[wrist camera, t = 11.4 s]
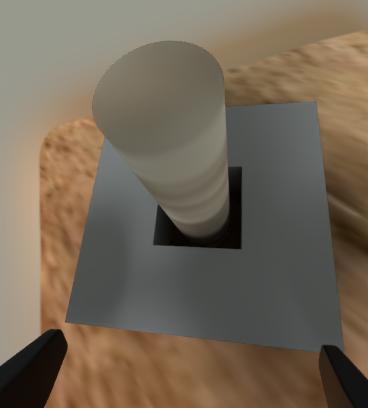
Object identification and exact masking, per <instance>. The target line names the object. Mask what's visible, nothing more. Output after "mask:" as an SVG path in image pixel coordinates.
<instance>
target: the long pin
mask: <svg viewBox="0 0 368 408" xmlns="http://www.w3.org/2000/svg"><path fill="white" fill-rule="evenodd" d="M92 110H93V117H94V120H95V123H96V124H97V126H98V128H99V130H100V131H101V132H102V133H103V135H104V136H105V137H106V138H107V140H108V141H109V142H110V144H111V145H112V146H113V147H114V149H115V150H116V151H117V152H118V154H119V155H120V156H121V157H122V159H123V160H124V161H125V162H126V164H127V165H128V166H129V167H130V169H131V170H132V171H133V172H134V174H135V175H136V176H137V177H138V179H139V180H140V181H141V183H142V184H143V185H144V186H145V188H146V189H147V190H148V191H149V193H150V194H151V195H152V196H153V198H154V199H155V200H156V201H157V203H158V204H159V205H160V206H161V208H162V209H163V210H164V211H165V213H166V214H167V215H168V216H169V218H170V219H171V220H172V222H173V223H174V224H175V225H176V227H177V228H178V229H179V230H180V232H181V233H182V234H183V235H184V237H185V238H186V239H187V240H188V241H189V242H190V243H191V244H193V245H195V246H197V247H201V248H210V247H214V246H216V245H218V244H220V243H221V242H222V241H223V240H224V239H225V238H226V236H227V235H228V233H229V230H230V205H229V182H228V159H227V136H226V113H225V90H224V77H223V72H222V70H221V67H220V65H219V63H218V62H217V60H216V59H215V58H214V57H213V56H212V55H211V54H210V53H209V52H207V51H206V50H205V49H203V48H201V47H199V46H197V45H194V44H191V43H187V42H182V41H161V42H155V43H151V44H147V45H145V46H142V47H139V48H137V49H135V50H133V51H131V52H129V53H128V54H126V55H124V56H123V57H121V58H120V59H119V60H117V61H116V62H115V63H114V64H113V65H112V66H111V67H110V68H109V69H108V70H107V71H106V72H105V74H104V75H103V76H102V78H101V80H100V81H99V83H98V85H97V87H96V90H95V93H94V96H93V102H92Z"/></svg>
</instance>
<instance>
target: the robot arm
mask: <svg viewBox="0 0 368 408" xmlns="http://www.w3.org/2000/svg"><path fill="white" fill-rule="evenodd" d="M67 348H68V344H67V341H66V339H65V337H64V334H63V332H62V330H60V329H50V330H48V331H46V332H45V333H44V334H42V335H41V336H40V337H38V338H37V339H36V340H34V341H33V342H32V343H30V344H29V345H28V346H26V347H25V348H24V349H22V350H21V351H20V352H18V353H17V354H16V355H14V356H13V357H12V358H10V359H9V360H8V361H6V362H5V363H4V364H3V365H1V366H0V408H44V407H45V405H46V402H47V400H48V398H49V396H50V393H51V391H52V389H53V386H54V383H55V381H56V378H57V375H58V373H59V370H60V368H61V365H62V362H63V360H64V357H65V355H66V352H67ZM319 370H320V374H321V378H322V383H323V387H324V391H325V395H326V400H327V404H328V408H368V379H367V378H366V377H365V376H364V375H363V374H362V373H361V372H360V370H359V369H358V368H357V367H356V366H355V365H354V364H353V363H352V362H351V361H350V360H349V358H348V357H347V356H346V355H345V354H344V353H343V352H342V351H341V350H340V349H339V348H338V347H337V346H335V345H322V346H321V350H320V357H319Z"/></svg>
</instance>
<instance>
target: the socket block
mask: <svg viewBox="0 0 368 408" xmlns="http://www.w3.org/2000/svg"><path fill="white" fill-rule="evenodd" d="M225 113H226V136H227V159H228V182H229V192H241V200H240V249H222V248H201V247H181V246H170V240H171V230H172V220H171V219H170V218H169V216H168V215H167V214H166V213H165V211H164V210H163V209H162V208H161V206H160V205H159V204H158V203H157V201H156V200H155V199H154V198H153V196H152V195H151V194H150V193H149V191H148V190H147V189H146V188H145V186H144V185H143V184H142V183H141V181H140V180H139V179H138V177H137V176H136V175H135V174H134V172H133V171H132V170H131V169H130V167H129V166H128V165H127V164H126V162H125V161H124V160H123V159H122V157H121V156H120V155H119V154H118V152H117V151H116V150H115V149H114V147H113V146H112V145H111V144H110V142H109V141H108V140H107V138H106V137H104V142H103V147H102V152H101V156H100V161H99V166H98V170H97V175H96V180H95V184H94V189H93V194H92V198H91V203H90V208H89V212H88V217H87V222H86V226H85V231H84V236H83V240H82V245H81V250H80V254H79V259H78V264H77V268H76V273H75V278H74V282H73V287H72V292H71V296H70V301H69V306H68V310H67V315H66V320H65V322H66V323H74V324H83V325H91V326H100V327H108V328H117V329H125V330H134V331H142V332H150V333H159V334H167V335H176V336H184V337H193V338H201V339H210V340H218V341H227V342H235V343H243V344H252V345H260V346H269V347H277V348H286V349H294V350H303V351H311V352H319V353H320V350H321V346H322V345H335V346H337V347H338V348H339V349H340V350H341V351H342V352H343V353H344V344H343V335H342V326H341V317H340V308H339V299H338V290H337V281H336V273H335V264H334V255H333V246H332V237H331V228H330V219H329V210H328V201H327V192H326V184H325V175H324V166H323V157H322V148H321V139H320V130H319V121H318V112H317V103H316V101H314V102H297V103H280V104H263V105H246V106H229V107H225ZM344 354H345V353H344Z"/></svg>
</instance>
